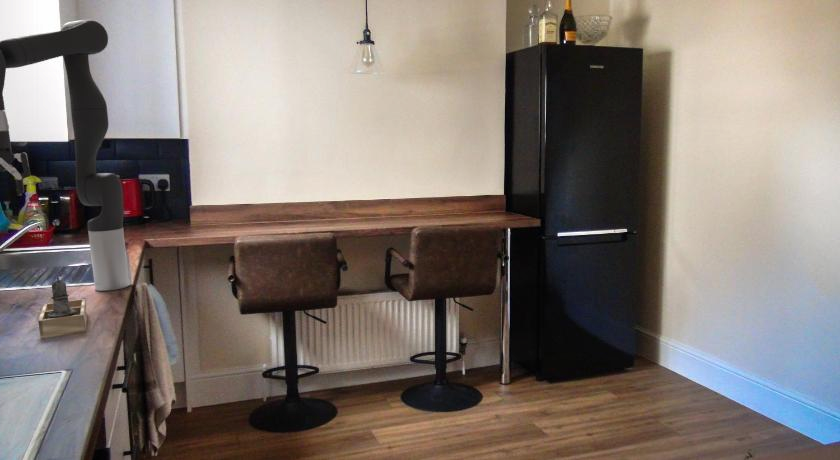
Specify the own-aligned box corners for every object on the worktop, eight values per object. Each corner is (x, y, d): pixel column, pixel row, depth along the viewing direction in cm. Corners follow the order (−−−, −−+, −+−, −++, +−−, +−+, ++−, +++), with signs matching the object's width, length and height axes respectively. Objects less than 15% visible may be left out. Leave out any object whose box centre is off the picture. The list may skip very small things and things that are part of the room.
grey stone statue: (83, 325, 158) (77, 274, 156) (60, 332, 153) (53, 280, 151) (67, 322, 161) (61, 273, 159) (44, 329, 156) (37, 278, 154)
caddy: (46, 319, 166) (44, 303, 166) (86, 314, 170) (85, 298, 170) (40, 338, 151) (38, 321, 150) (85, 331, 155) (83, 314, 154)
